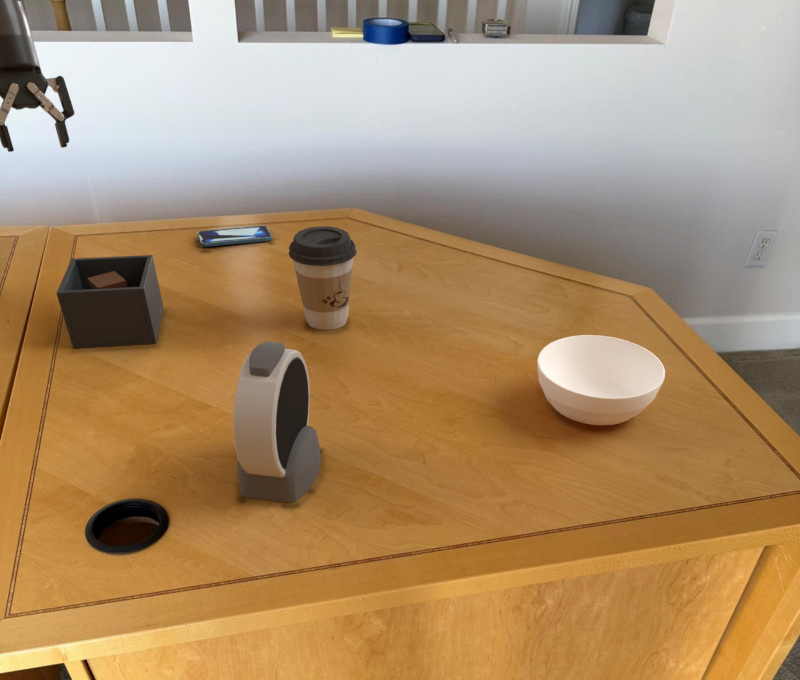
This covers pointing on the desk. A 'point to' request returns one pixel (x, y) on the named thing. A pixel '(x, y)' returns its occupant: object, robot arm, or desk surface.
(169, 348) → the desk surface
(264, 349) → the alarm clock
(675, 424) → the desk surface
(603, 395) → the bowl
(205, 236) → the smartphone
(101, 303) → the trash bin
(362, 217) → the desk surface
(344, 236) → the coffee cup
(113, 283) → the chocolate box
